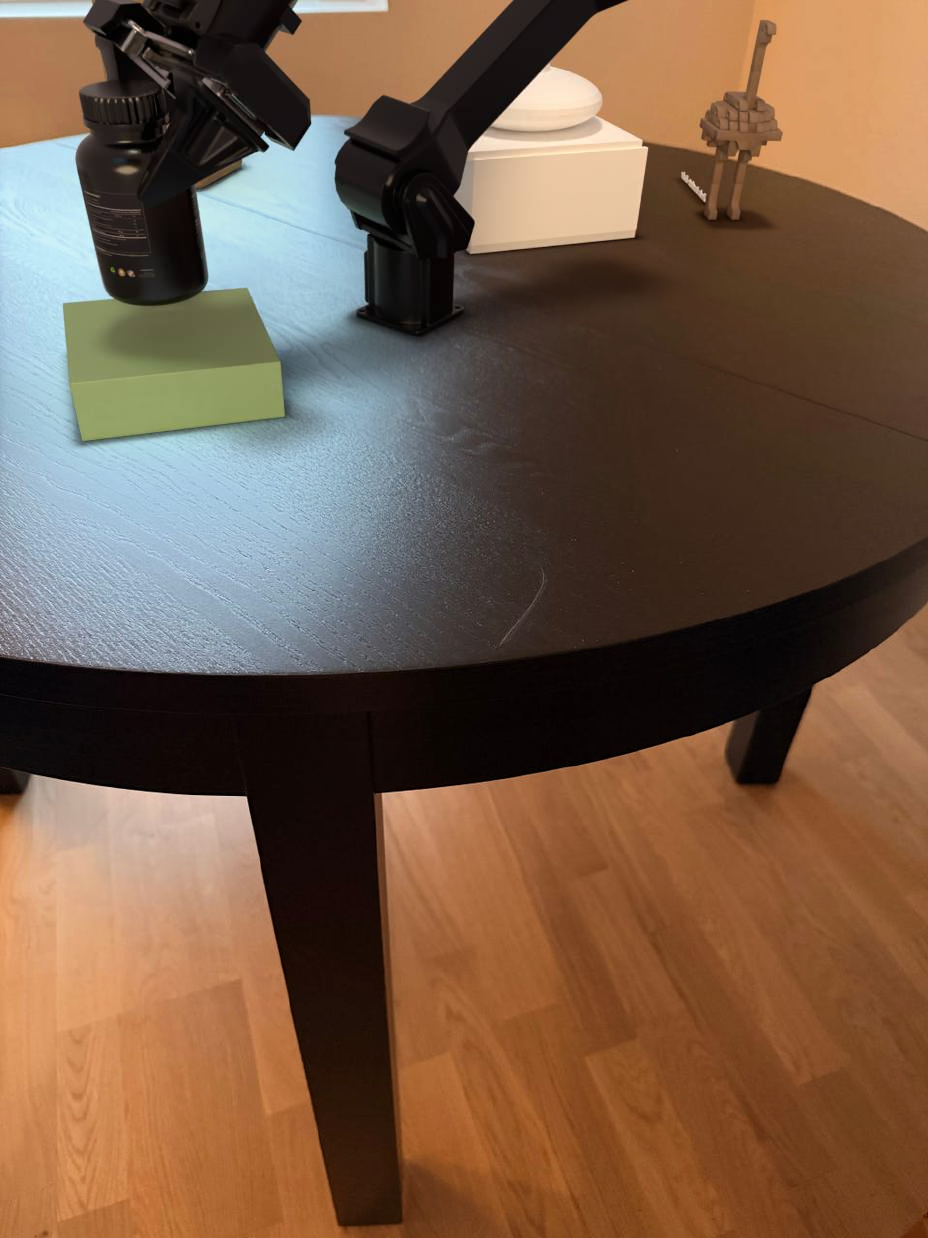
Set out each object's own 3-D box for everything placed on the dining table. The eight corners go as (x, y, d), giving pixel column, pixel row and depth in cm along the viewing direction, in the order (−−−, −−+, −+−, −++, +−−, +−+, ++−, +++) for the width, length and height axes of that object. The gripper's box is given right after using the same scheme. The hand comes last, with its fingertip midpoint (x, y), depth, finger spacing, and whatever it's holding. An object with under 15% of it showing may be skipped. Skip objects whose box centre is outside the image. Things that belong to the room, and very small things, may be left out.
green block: (252, 338, 76) (247, 286, 74) (285, 417, 67) (280, 361, 64) (74, 355, 73) (62, 302, 70) (82, 441, 63) (69, 383, 61)
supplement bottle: (140, 263, 69) (105, 69, 62) (228, 277, 68) (204, 81, 60) (81, 299, 64) (35, 93, 56) (175, 315, 63) (141, 106, 55)
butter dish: (635, 237, 98) (661, 53, 88) (465, 254, 92) (472, 60, 82) (557, 184, 110) (572, 18, 100) (403, 197, 105) (403, 22, 95)
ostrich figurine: (763, 228, 102) (809, 25, 90) (700, 228, 101) (738, 23, 89) (710, 178, 114) (745, -5, 103) (654, 178, 114) (682, -7, 102)
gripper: (82, -168, 58) (-56, 64, 60) (240, -147, 48) (66, 135, 49) (220, -18, 67) (96, 180, 69) (379, 28, 56) (228, 262, 58)
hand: (118, 187), depth 61 cm, fingers closed on supplement bottle, 7 cm apart
